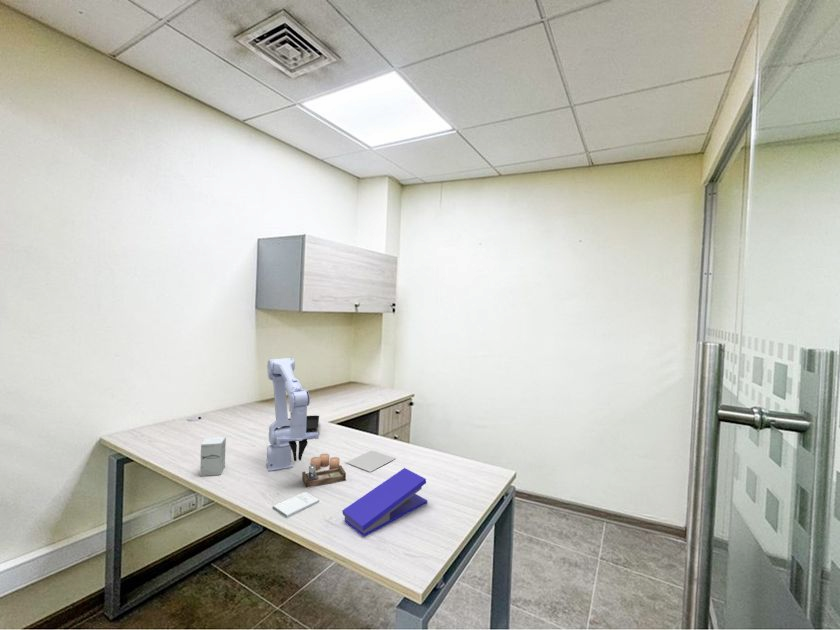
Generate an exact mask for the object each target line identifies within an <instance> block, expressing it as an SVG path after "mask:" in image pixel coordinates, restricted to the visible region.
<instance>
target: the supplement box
mask: <svg viewBox="0 0 840 630" xmlns="http://www.w3.org/2000/svg"><path fill="white" fill-rule="evenodd" d="M226 440H227V437H226V436H218V437H217V436H216V437H215V436H213V437H205V438H204V440H203V441H202V442H201V444H200V464H199V465H200V470H199V473H200V474H199V476H200V477H207V476H220V475H221V474H223V471H224V469H225V466H226V445H227V444H226V442H227V441H226Z"/></svg>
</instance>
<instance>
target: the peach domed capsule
mask: <svg viewBox="0 0 840 630" xmlns="http://www.w3.org/2000/svg"><path fill="white" fill-rule="evenodd" d="M311 465H315V466H316V471H315V472H318V471H320V470H321V468H322V467H321V458H320V457H319V456H314V457H311V458H310V466H311Z"/></svg>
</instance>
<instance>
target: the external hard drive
mask: <svg viewBox="0 0 840 630" xmlns="http://www.w3.org/2000/svg"><path fill="white" fill-rule="evenodd" d="M318 503H320V499H319V498H317V497H315V496H313V495H312V494H310V493H309V492H307V491H304V492H301V493H299V494H297V495H295V496H292V497H290V498H288V499H286V500H284V501H282V502H279V503H276V504H274V505H272V510H274V511H275V512H276V513H278V514H280V515H281V516H283V517H284V518H286V519H289V518H291V517H292V516H294V515H296V514H298V513H300V512H302V511H304V510H306V509H308V508H310V507H312V506H314V505H317V504H318Z"/></svg>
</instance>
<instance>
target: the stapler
mask: <svg viewBox="0 0 840 630" xmlns="http://www.w3.org/2000/svg"><path fill="white" fill-rule="evenodd" d="M426 484H427V479H426V478H425V477H423V476H421V475H420V474H417V473H415V472H413V471H411V470H410V469H407V468H405V467H403V468H402V469H401V470H400V471H398V472H397V473H395V474H393V475H391V477H389V478H387V479H386V480H385V481H383V482H382V483H380V484H378V485H377V486H375V488H373V489H372V490H370V491H368V492H367V493H365V494H364V495H362V496H361V497H360V498H359V499H356V501H354V502H353V503H351V504H350V505H348V506H347V507H345V508H344V509H342V514H343V515H342V516H344V523H345V524H346V525H348V526H349V527H351V528H352V529H353V530H355V532H357V533H359V535H361V536H362V537H366V536H369V535H371V534H372V533H374V532H375V531H377V530H380V529H381V528H384V527H385V526H387V525H389V524H391V523H393V522H394V521H396V520H398V519H400V518H402V517H404V516H406V515H408V514H410V513H411V512H413V511H416V510H417V509H419V508H420V507H422V506H425V505H426V504H428V499H426V498H424V497H422V496H420V495H419V494H417V493H418V492H419V491H421V490H422V488H423V486H424V485H426Z"/></svg>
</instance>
